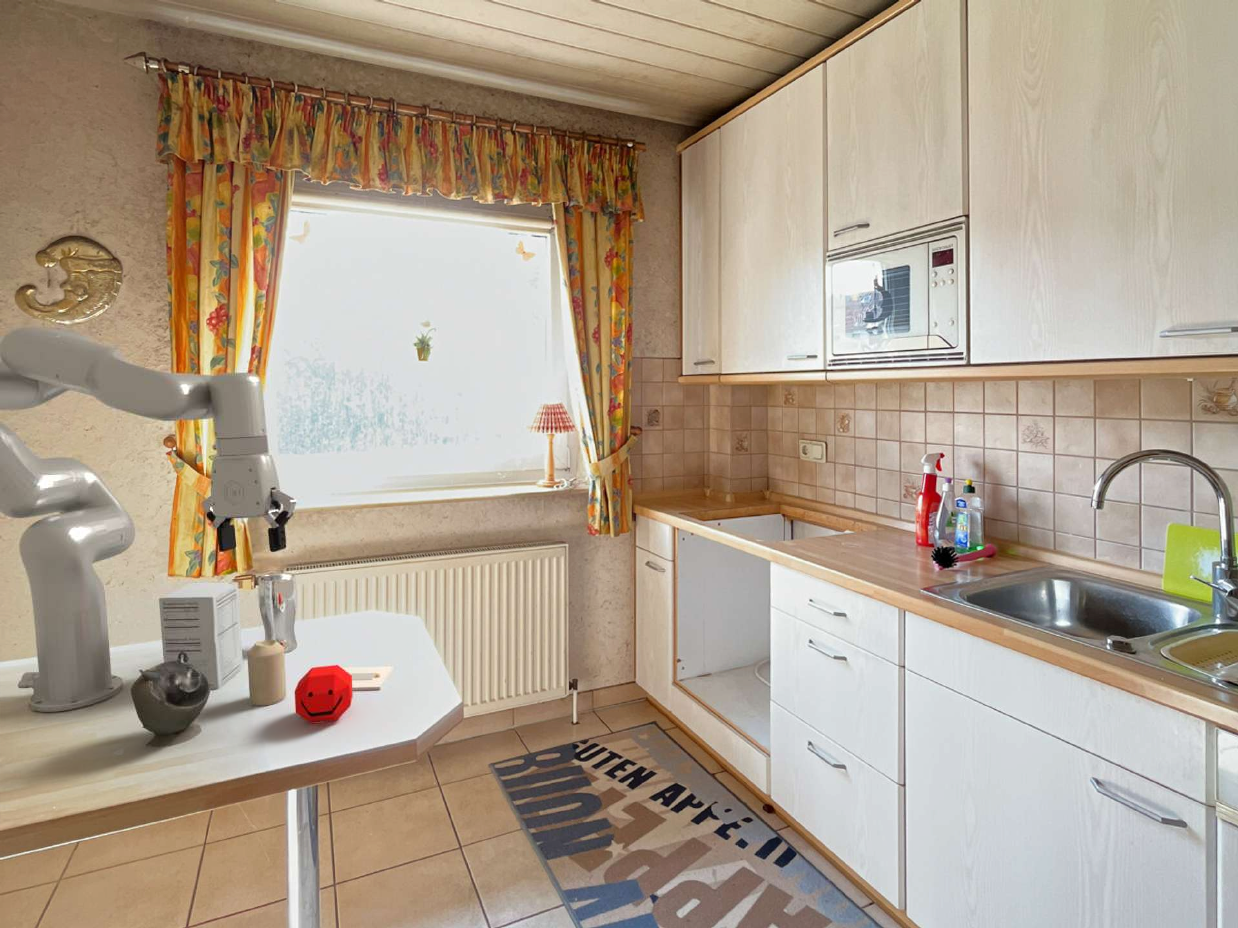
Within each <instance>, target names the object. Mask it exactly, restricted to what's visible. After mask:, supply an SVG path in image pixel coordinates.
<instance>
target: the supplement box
mask: <svg viewBox="0 0 1238 928" xmlns="http://www.w3.org/2000/svg"><path fill="white" fill-rule="evenodd" d="M239 593H240V592H239V583H238V582H189V583H187V584H184V585H183V586H180V587H179V588H177V589H175V590H173V591H171V592H169V593H167V594H164V595H163V596H161V597H159V599H158V604H159V615H160V616H159V617H160V629H161V631H160V632H161V642H162V643H161V644H162V655H163V658H162V659H163V663H164V662H168V661H173V660H178V655H179V653H181V652H183V653H186V655H187V656H188V658H189V660H188V661H187V662H188V663H190V664H192V665H194V666H195V667H197V668H198V669H199V670H201V671H202V672H203V673H204V675H205V676H206V677H207V679H208V682H209V685H210V690H219V689H220V688H222V687H223V685H225V684H226V683H227V682H228V681H230V680H231V679H232V678H233V677H234V676H235V675H236V674H238V673H239V672H240V671H241V670H242V669H243V668H244V664H243V663H244V662H243V660H244V659H243V648H242V647H243V646H242V645H243V644H242V643H243V642H242V629H241V614H240V611H241V610H240V599H239V598H240V596H239V595H240V594H239Z"/></svg>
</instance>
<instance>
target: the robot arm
mask: <svg viewBox="0 0 1238 928" xmlns="http://www.w3.org/2000/svg"><path fill="white" fill-rule="evenodd" d="M126 359H127V358H126V357H125V355H124V354H123V353H122V352H121V351H120V350H119V349H117V348H115V347H111V346H108V345H105V344H101V343H98V342H96V341H95V340H94V339H93V338H91V337H90V336H88V335H86V334H84V333H82V332H79V331H73V330H69V329H67V330H66V329H58V328H52V327H51V328H50V327H42V326H23V327H19V328H15V329H13V330H11V331H9V332H7V333H6V334H4V336H3V337H2V338H1V340H0V411H17V410H18V411H21V410H28V409H33V408H36V407H39V406H41V405H44V404H46V403H47V402H50V401H51V400H53V399H55V398H57V397H59V396H61V395H63V394H64V393H67V392H68V391H74V392H77V393H81V394H85V395H87V396H91V397H94V398H95V399H96V400H98V401H99V402H100V403H102V404H103V405H105V406H108V407H110V408H113V409H115V410H118V411H121V412H125V413H127V414H132V415H135V416H139V417H143V418H147V419H151V420H154V421H155V420H157V421H163V422H175V421H196V420H208V419H212V423H213V433H214V438H215V441H214V442H213V443H212V449H213V450H214V451H216V457H214V458H212V463H211V469H210V496H208V497H207V498H205V499H204V500H202V501H201V503H200V505H201V507H202V509H203V511H204V513H205V514H206V518H207V519H208V520H209V521H210V522H211V525H212V528H214V529H216V534H217V544H218V550H219V552H220V553H225V552H226V551H227V552H228V551H231V550H234V549H236V548H237V538H236V529H235V524H231V523H232V522H233V521H234V520H235V519H256V518H261V517H263V519H264V520H265V521H266V523H268V525H269V526H270V527H268V529H267V536H268V544H269V545H268V547H269V552H271V553H275V552H278V551H282V550H284V549H286V548H287V537H286V535H287V534H286V528H285V527H286V525H289V524H288V523H289V521H290V519H291V518H292V517H293V515H294V510H295V509H296V508H295V507H296V505H297V500H296V499H295V497H294V498H293V497H291V496H290V495H288V494H286V493H284V492H282V491H281V486H280V482H279V477H278V473H277V468H276V464H275V462H274V461H275V460H274V458H273V456H272V455H271V454H270V452H269V445H268V444H269V442H268V433H267V431H268V430H267V421H266V413H265V412H266V411H265V402H264V392H263V391H264V389H263V383H262V379H261V377H260V376H259V375H257V374H255V373H251V372H223V373H217V374H214V375H211V374H209V375H208V374H199V373H198V374H197V373H186V372H185V373H184V372H183V373H182V372H166V371H165V372H164V371H159V370H155V369H151V368H148V367H143V366H141V365H138V364H133V363H130V362H127V360H126ZM281 509H282V511H281ZM0 513H1V514H2V515H4V516H6V517H9V518H12V519H25V518H33V517H38V516H39V517H40V516H44V515H49V514H53V513H57V514H53V515H50V516H45V517H43V518H41V519H39V520H36V521H35V522H33V523H32V524H31V525H29V526H28V527H26V529H25V530H24V532H23V533H22V535H21V537H20V539H19V545H18V546H19V547H18V548H19V549H18V550H19V554H20V558H21V562H22V563H23V568H24V569H25V571H26V575H27V577H28V578H27V579H28V582H29V587H30V593H31V600H32V601H31V602H32V603H31V604H32V612H33V622H34V630H35V643H36V644H35V645H36V646H35V647H36V654H37V666H38V668H37V669H38V671H30V672H27V671H26V672H24V673H23V674H22V676H21V679H20V680H19V681H18V684H17V687H18V689H32V690H33V694H32V695H31V696H30V697H29V699H28V706H29V709H32V710H33V711H35V712H36V711H37V712H43V713H45V712H46V713H52V712H55V713H56V712H64V711H70V710H75V709H79V708H83V707H88V706H91V705H93V704H96V703H99V702H102V701H105V700H107V699H109V698H112V697H113V696H115V695H117V694H118V693H119V692H120V691H122V689H123V688H124V680H123V678H122V677H121V676H118V675H116V674H115V675H114V674H112V665H111V653H110V641H109V640H110V639H109V626H108V625H109V624H108V615H107V613H108V612H107V602H106V600H107V599H106V593H105V592H106V591H105V588H104V585H103V582H102V580H101V578H100V577H99V575H98V574H97V572H96V571H95V569H94V567H93V564H95V563H97V562H102V561H104V560H106V559H110V558H114V557H115V556H119V555H120V554H122V553H124V552H126V551H127V550H128V549H130V547H131V546H132V545H133V543H134V541H135V538H136V537H135V536H136V527H135V523H134V521H133V519H132V518H131V517H132V516H131V515H130V514H129V512H128V511H127V509H126V508H125V507H124V506H123V505H122V503H121V502H120V501H119V499H118V498H117V497H116V496H115V494H114V493H113V492H112V491H111V490H110V487H108V486H107V485H106V483H105V482H104V481H103V479H102V478H101V477H100V475H99V474H97V472H96V471H95V470H94V469H93V468H92V467H90V466H89V465H88V464H86V463H84V462H82V461H80V460H79V459H75V458H71V457H67V456H62V457H61V456H59V457H47V458H42V457H39V456H37V455H36V454H34V452H32V450H31V449H30V448H29V447H28V446H27V445H26V444H25V442H24V441H23V439H21V437H20V436H19V435H18V434H17V433H16V432H15V431H14V430H13V429H12V428H11V427H9V426H8V425H6V424H4V423H3V422H1V421H0Z"/></svg>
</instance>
